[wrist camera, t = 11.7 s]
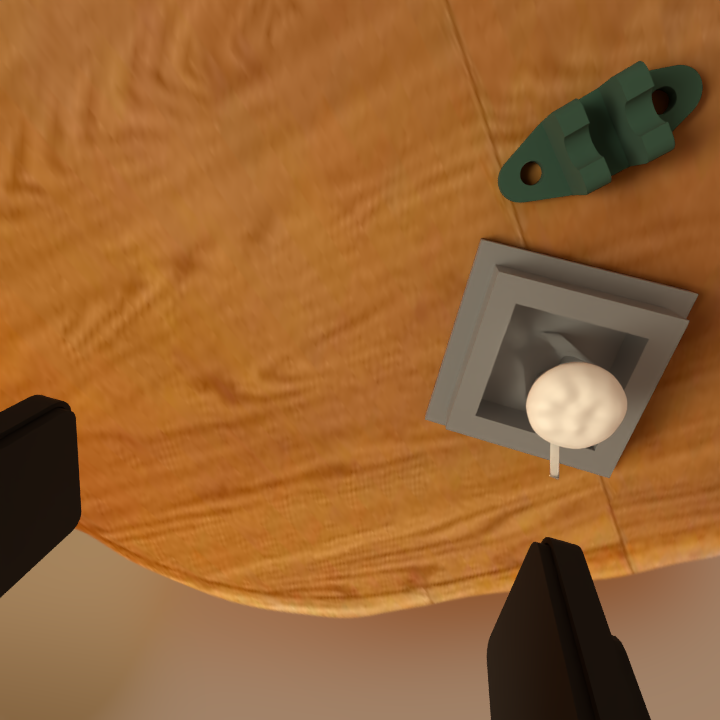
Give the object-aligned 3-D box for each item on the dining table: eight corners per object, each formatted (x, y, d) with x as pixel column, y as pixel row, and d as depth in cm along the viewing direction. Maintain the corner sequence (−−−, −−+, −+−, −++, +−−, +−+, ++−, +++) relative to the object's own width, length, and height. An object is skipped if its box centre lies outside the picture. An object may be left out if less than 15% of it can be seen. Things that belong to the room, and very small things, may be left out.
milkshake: (494, 383, 32) (508, 460, 22) (528, 311, 30) (559, 363, 20) (558, 407, 31) (600, 496, 22) (598, 336, 29) (661, 400, 20)
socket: (481, 238, 30) (483, 244, 26) (690, 291, 28) (725, 305, 25) (425, 413, 35) (421, 439, 31) (603, 466, 33) (621, 500, 29)
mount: (675, 43, 25) (725, 9, 20) (704, 123, 26) (757, 107, 21) (484, 156, 28) (488, 149, 24) (514, 223, 29) (524, 228, 25)
